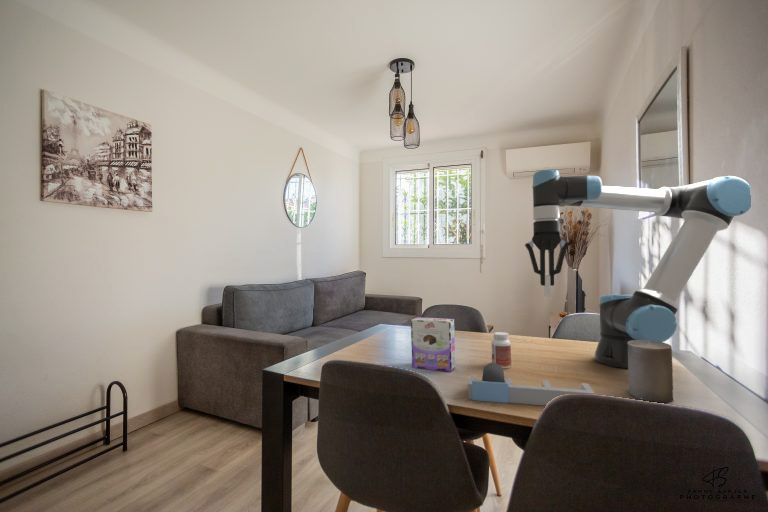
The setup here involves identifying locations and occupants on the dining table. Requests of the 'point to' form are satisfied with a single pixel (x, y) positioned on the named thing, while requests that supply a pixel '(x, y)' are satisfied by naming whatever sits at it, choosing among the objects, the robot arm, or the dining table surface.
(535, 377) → the dining table surface
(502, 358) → the pill bottle
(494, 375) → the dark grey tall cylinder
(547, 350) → the dining table surface
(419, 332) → the candy box
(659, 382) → the pillar candle
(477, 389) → the duct comb
